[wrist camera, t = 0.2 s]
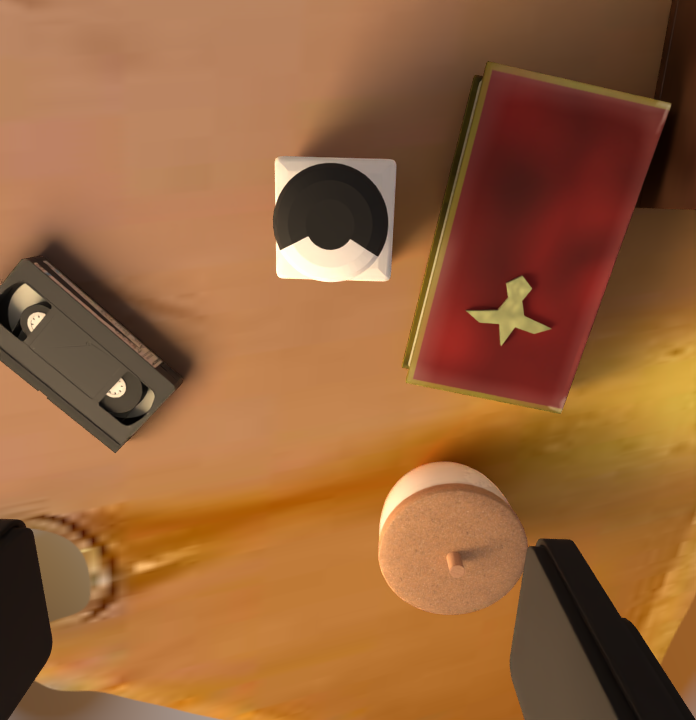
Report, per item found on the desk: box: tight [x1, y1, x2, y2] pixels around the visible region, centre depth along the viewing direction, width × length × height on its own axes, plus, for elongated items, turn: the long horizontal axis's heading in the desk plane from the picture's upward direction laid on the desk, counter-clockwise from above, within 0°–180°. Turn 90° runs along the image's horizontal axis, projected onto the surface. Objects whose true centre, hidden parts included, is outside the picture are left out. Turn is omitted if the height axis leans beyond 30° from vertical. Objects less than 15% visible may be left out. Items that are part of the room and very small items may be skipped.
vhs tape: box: [0, 256, 183, 453], centre depth 40 cm, size 14×8×2 cm, turn 45°
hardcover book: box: [402, 61, 672, 414], centre depth 36 cm, size 12×21×4 cm, turn 168°
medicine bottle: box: [273, 156, 396, 282], centre depth 32 cm, size 7×7×12 cm
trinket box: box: [378, 462, 528, 615], centre depth 40 cm, size 11×11×9 cm
